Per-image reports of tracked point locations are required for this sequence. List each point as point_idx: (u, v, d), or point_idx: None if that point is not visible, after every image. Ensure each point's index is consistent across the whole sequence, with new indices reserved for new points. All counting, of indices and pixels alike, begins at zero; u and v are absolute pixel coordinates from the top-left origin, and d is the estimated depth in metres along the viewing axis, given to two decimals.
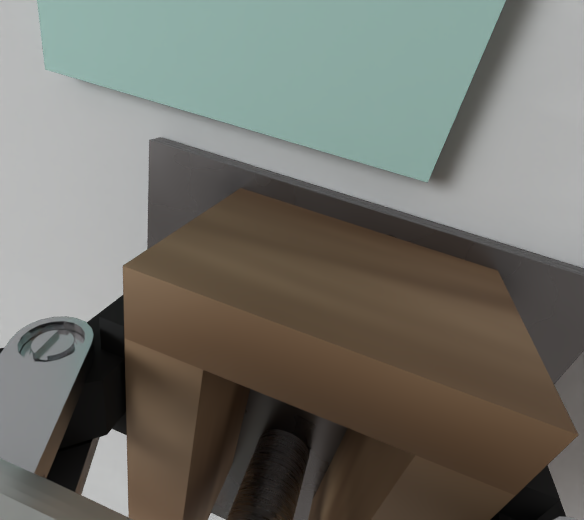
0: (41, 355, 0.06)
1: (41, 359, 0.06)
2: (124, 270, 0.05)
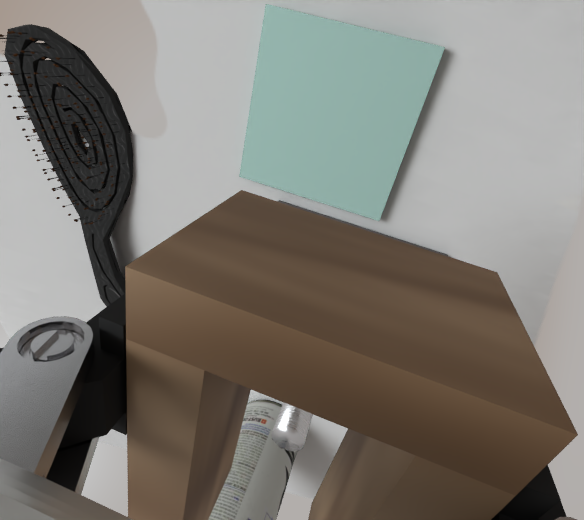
0: (41, 355, 0.06)
1: (41, 359, 0.06)
2: (127, 271, 0.05)
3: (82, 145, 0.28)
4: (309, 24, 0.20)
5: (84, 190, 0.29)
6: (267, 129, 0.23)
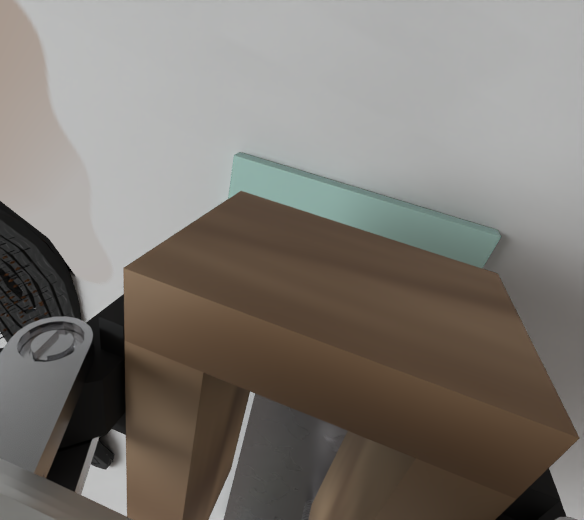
0: (41, 355, 0.06)
1: (41, 359, 0.06)
2: (125, 272, 0.05)
3: (15, 287, 0.22)
4: (297, 187, 0.13)
5: None
6: None
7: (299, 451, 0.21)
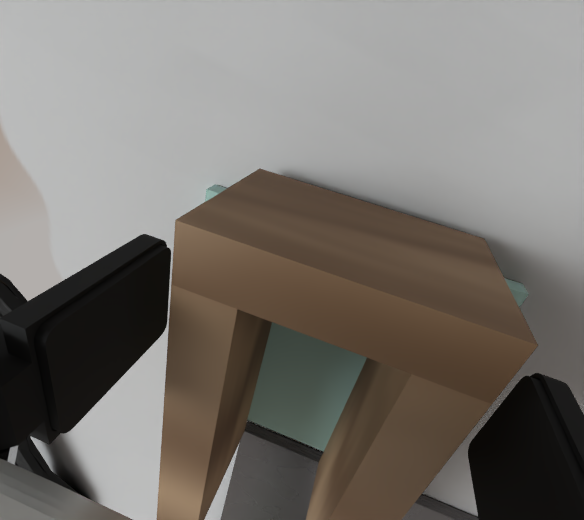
0: None
1: None
2: (176, 224, 0.07)
3: None
4: None
5: None
6: None
7: (288, 512, 0.18)
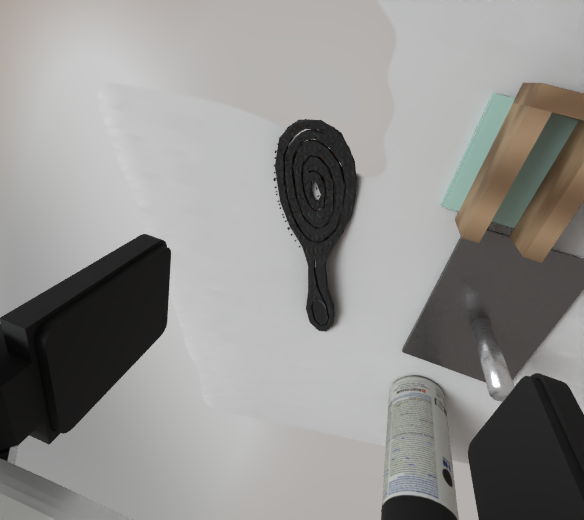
0: None
1: None
2: (541, 84, 0.24)
3: (312, 195, 0.37)
4: None
5: (308, 227, 0.38)
6: (474, 174, 0.32)
7: (479, 279, 0.36)
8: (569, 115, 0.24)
